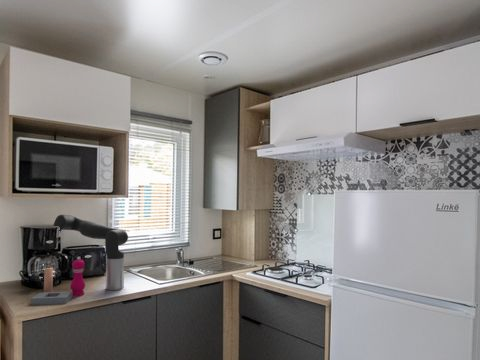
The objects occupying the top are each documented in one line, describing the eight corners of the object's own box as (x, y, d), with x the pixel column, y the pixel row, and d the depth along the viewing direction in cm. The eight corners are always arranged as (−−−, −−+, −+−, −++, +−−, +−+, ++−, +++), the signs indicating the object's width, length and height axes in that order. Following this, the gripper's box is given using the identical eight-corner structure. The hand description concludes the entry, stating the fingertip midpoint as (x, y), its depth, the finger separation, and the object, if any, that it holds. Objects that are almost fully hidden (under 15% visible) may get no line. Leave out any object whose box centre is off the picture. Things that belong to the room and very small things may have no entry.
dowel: (53, 293, 182) (54, 267, 183) (50, 295, 178) (51, 269, 179) (45, 294, 181) (46, 267, 182) (42, 296, 177) (43, 269, 178)
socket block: (72, 297, 176) (72, 291, 176) (66, 303, 166) (66, 297, 167) (39, 298, 174) (39, 292, 174) (30, 304, 164) (30, 298, 164)
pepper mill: (71, 297, 176) (72, 258, 177) (68, 293, 182) (70, 256, 183) (86, 295, 181) (87, 257, 181) (83, 291, 186) (84, 255, 187)
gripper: (30, 266, 195) (32, 271, 182) (58, 263, 203) (62, 268, 190) (30, 279, 195) (31, 285, 182) (58, 276, 203) (61, 282, 190)
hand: (47, 277), depth 186 cm, fingers open, 8 cm apart
